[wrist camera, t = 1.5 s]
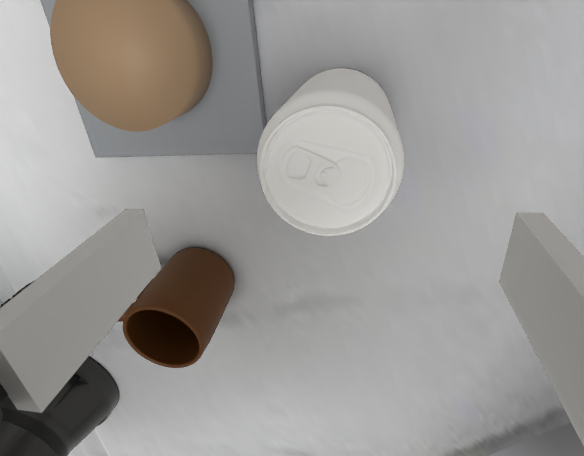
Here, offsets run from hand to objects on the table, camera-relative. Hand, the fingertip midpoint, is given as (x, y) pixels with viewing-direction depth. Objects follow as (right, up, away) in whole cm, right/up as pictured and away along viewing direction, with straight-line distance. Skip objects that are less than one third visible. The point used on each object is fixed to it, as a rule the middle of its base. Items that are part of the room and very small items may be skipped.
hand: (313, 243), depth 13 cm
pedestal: (-11, +14, +15) cm, 24 cm away
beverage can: (+3, +9, +16) cm, 19 cm away
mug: (-12, -4, +26) cm, 29 cm away
